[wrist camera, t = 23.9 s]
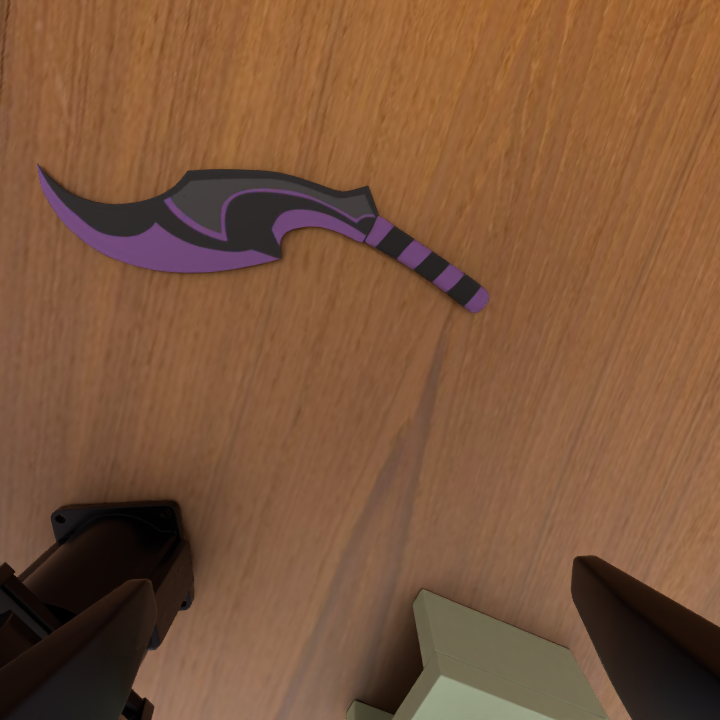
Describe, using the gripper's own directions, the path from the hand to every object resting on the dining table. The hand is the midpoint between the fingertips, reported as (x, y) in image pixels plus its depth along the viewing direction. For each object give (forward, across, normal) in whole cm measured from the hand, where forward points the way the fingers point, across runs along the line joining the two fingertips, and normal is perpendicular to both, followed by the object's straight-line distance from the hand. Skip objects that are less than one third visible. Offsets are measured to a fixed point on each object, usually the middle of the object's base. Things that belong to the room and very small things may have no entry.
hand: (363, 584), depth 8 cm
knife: (+12, +4, -8) cm, 15 cm away
